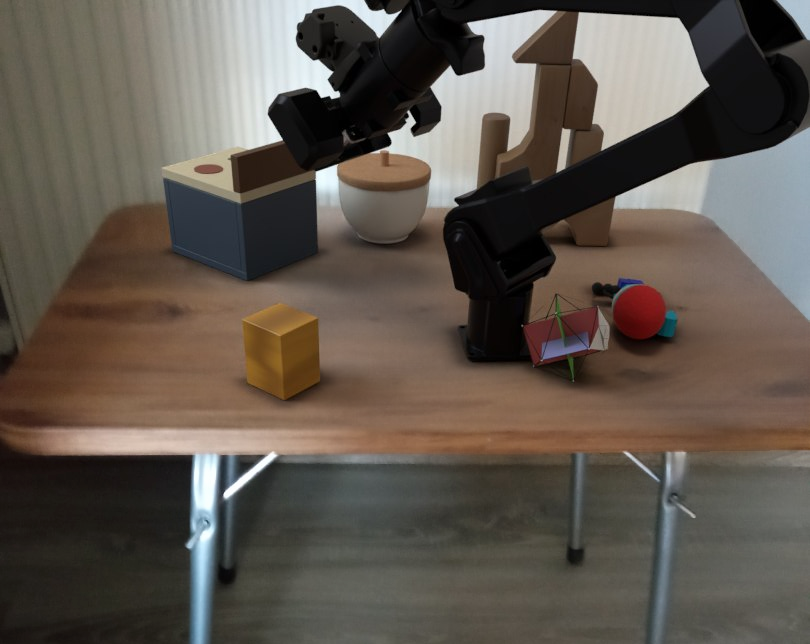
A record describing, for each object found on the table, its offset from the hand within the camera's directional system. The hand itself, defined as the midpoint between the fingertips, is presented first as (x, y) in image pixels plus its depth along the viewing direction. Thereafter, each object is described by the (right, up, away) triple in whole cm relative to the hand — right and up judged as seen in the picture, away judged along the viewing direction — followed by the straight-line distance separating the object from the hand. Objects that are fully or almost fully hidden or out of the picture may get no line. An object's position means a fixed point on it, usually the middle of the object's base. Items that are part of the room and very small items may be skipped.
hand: (314, 166), depth 88 cm
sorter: (-9, -4, +12) cm, 16 cm away
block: (-2, -23, -10) cm, 25 cm away
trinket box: (+6, -1, +18) cm, 19 cm away
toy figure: (+32, -15, +2) cm, 35 cm away
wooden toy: (+25, 0, +20) cm, 32 cm away
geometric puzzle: (+23, -21, -7) cm, 32 cm away
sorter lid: (-9, +2, +7) cm, 12 cm away
